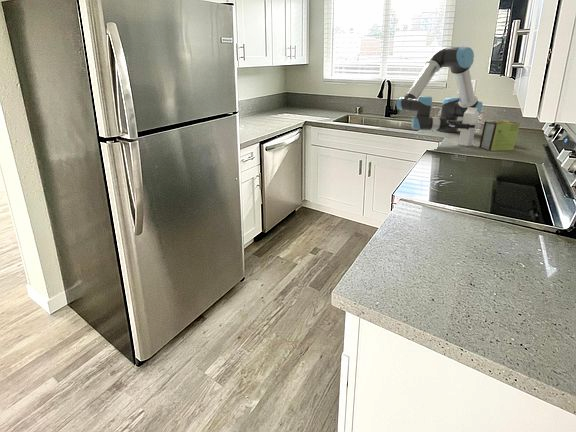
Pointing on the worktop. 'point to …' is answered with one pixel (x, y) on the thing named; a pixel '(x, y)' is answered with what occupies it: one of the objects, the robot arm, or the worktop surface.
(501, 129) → the protein box
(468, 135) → the milk
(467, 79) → the robot arm
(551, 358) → the worktop surface
